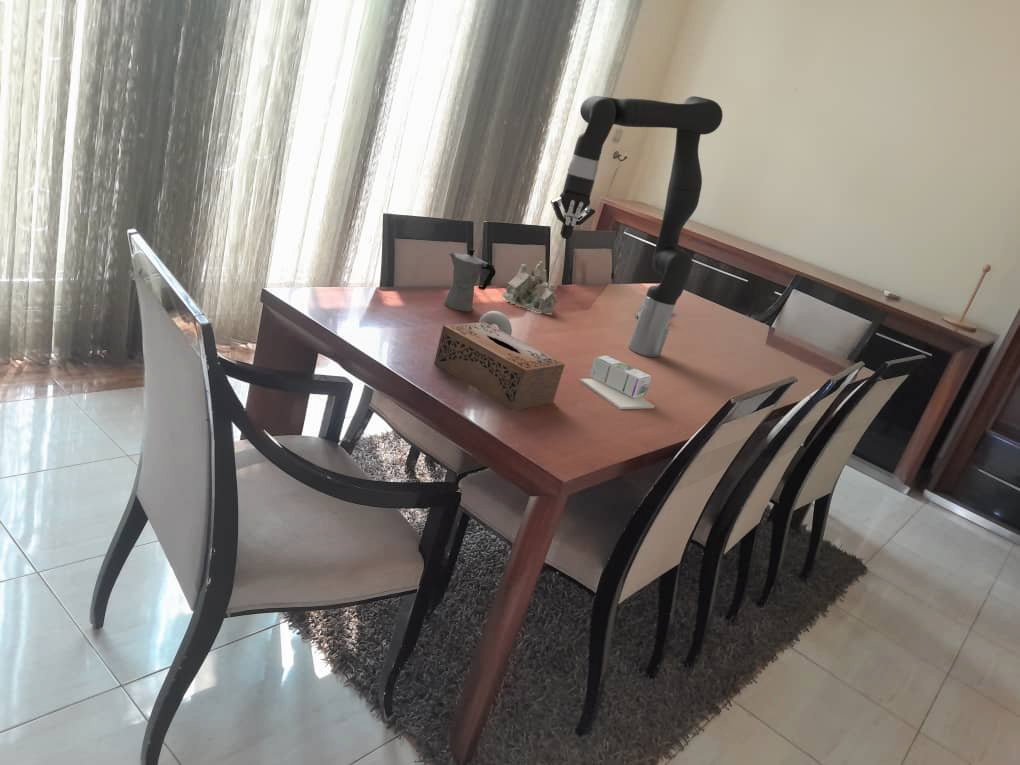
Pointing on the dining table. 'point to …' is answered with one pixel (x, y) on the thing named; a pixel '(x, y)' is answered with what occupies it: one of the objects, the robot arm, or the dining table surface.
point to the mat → (616, 396)
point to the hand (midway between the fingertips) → (564, 238)
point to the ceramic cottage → (531, 290)
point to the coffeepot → (466, 280)
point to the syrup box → (620, 376)
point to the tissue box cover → (499, 365)
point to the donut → (497, 321)
